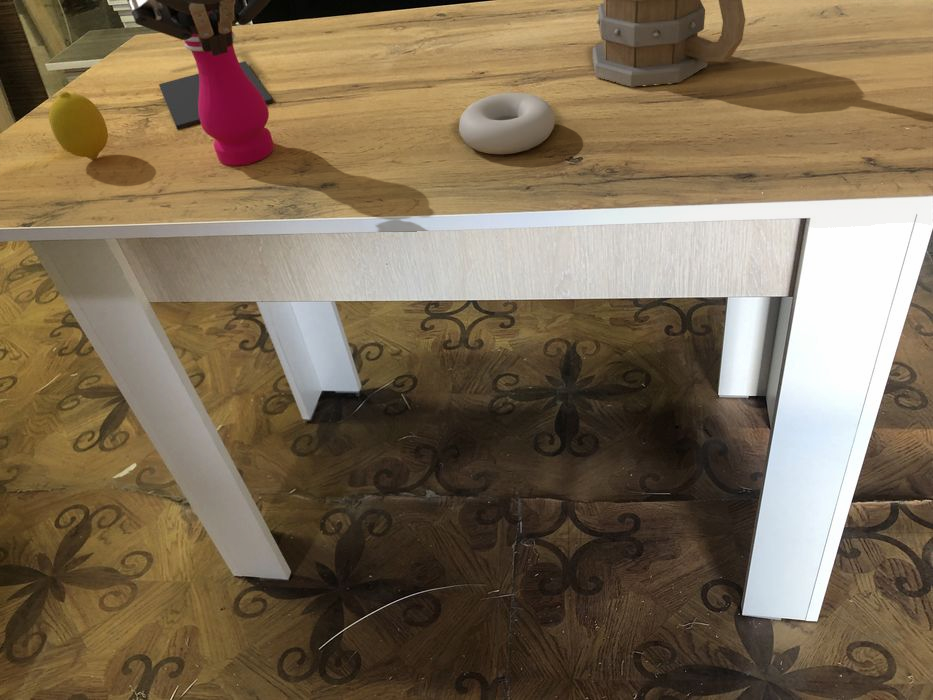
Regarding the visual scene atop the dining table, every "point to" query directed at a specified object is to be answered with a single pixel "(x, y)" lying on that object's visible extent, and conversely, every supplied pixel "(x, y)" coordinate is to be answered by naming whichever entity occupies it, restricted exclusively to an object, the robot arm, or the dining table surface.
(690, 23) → the tankard
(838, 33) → the dining table surface
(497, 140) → the donut
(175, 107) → the mat
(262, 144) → the pepper mill
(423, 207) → the dining table surface
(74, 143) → the lemon
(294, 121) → the dining table surface
